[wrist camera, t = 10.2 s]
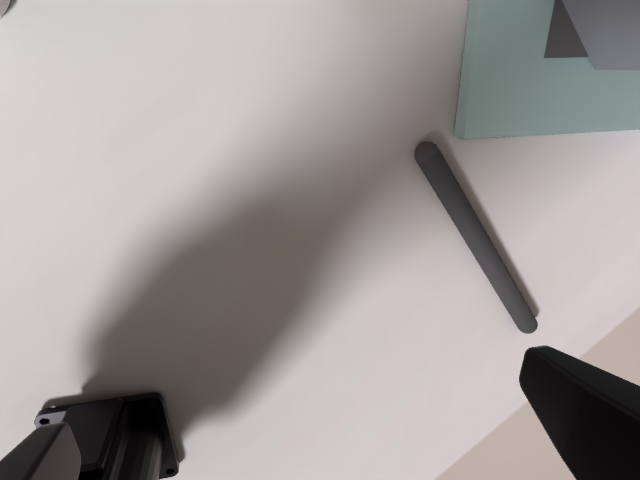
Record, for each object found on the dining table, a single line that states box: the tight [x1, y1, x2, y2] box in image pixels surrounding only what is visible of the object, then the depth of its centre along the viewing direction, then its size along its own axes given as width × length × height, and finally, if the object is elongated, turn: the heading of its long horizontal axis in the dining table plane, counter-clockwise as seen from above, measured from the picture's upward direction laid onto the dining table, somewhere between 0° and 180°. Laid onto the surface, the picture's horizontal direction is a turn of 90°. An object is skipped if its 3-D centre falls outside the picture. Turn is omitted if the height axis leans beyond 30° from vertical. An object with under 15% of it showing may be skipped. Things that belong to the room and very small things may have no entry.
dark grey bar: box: [415, 142, 538, 334], centre depth 23 cm, size 15×1×1 cm, turn 36°
